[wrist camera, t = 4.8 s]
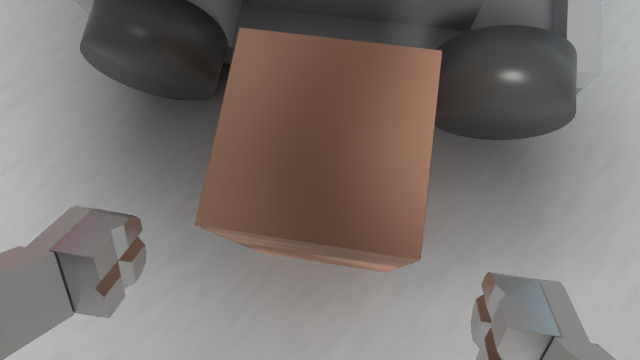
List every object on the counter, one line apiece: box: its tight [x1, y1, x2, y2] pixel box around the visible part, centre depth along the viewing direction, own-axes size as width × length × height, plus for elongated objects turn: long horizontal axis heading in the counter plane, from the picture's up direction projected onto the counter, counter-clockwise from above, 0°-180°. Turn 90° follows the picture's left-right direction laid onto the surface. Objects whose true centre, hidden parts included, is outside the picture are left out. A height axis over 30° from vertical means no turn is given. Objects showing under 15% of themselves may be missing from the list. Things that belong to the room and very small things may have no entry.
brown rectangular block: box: [195, 28, 442, 272], centre depth 14 cm, size 5×5×8 cm
